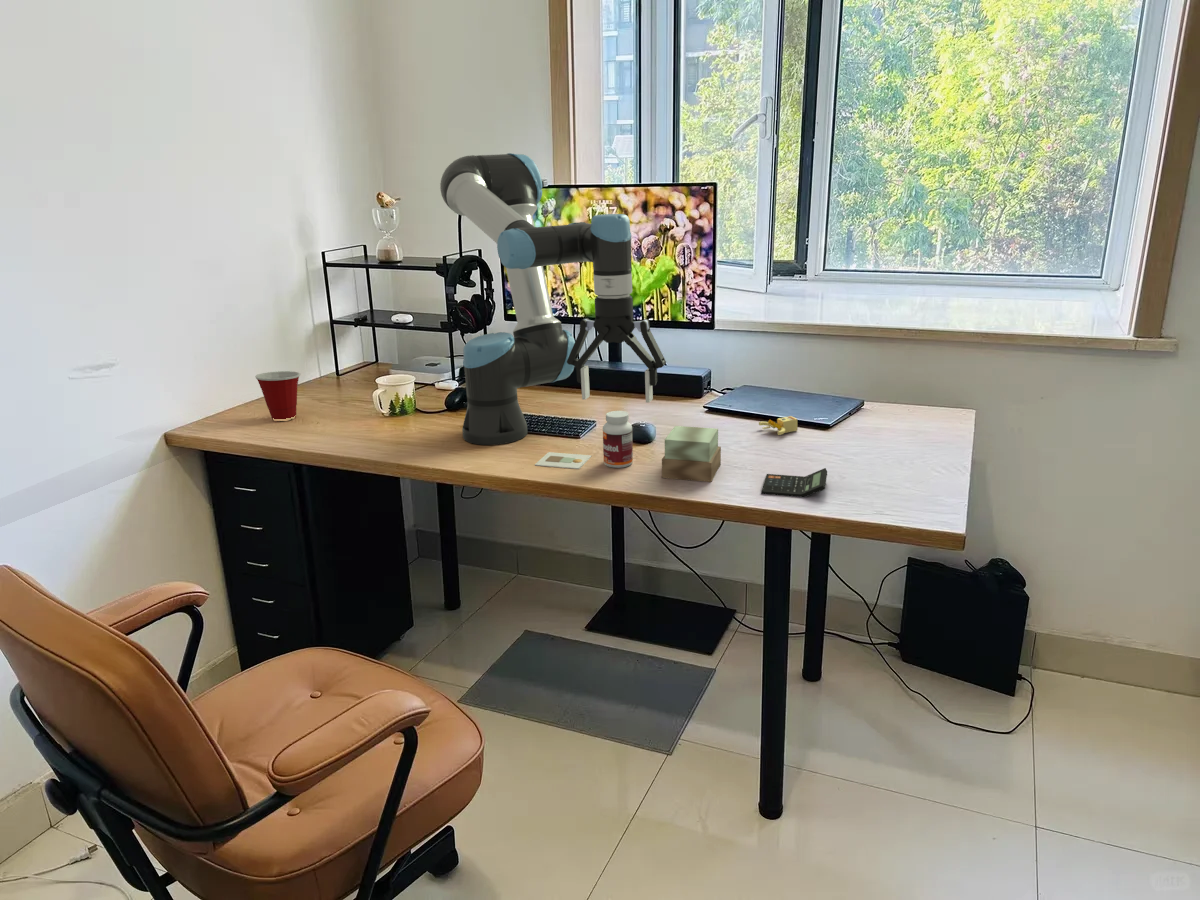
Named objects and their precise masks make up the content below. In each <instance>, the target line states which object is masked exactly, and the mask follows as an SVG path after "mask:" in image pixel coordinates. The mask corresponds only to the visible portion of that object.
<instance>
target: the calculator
mask: <svg viewBox="0 0 1200 900" xmlns="http://www.w3.org/2000/svg"><path fill="white" fill-rule="evenodd" d="M827 476H828V470H827V468H826V467H825V468H822V469H819V470H817V471H815V472H812V473H810V474H808V475H806V476H800V475H799V476H798V475H788V474H787V475H786V474H777V473H776V474H773V473H766V475H765V477H764V482H763V484H762V487H761V490H760V491H761V493H760V494H761V495H765V496H767V495H769V496H780V497H781V496H782V497H795V498H806V497H809V496H811V495H815V494H816V493H819V492H823V491H825V490H826V485H827Z"/></svg>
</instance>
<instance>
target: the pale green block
mask: <svg viewBox="0 0 1200 900" xmlns="http://www.w3.org/2000/svg"><path fill="white" fill-rule="evenodd" d="M721 448H722V446H720V445H719V428H715V427H699V426H697V427H696V426H683V425H675V426H673V428H672V430H671V431H670V432H669V433H668V435H667V436H666V437H665V438H664V455H663V457H662V458H661V478H662V479H672V480H684V481H692V482H693V481H694V482H707V483H712V481H713V479H714V478H715V476H716V474H717V473H718V470H719V468H720V467H721V465H722V464H721V463H722V462H721V461H722V458H721V457H722V456H721V455H722V452H721V451H722V449H721Z"/></svg>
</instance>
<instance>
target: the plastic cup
mask: <svg viewBox="0 0 1200 900" xmlns="http://www.w3.org/2000/svg"><path fill="white" fill-rule="evenodd" d="M300 376H301V373H300V372H299V371H292V370H289V371H288V370H287V371H286V370H283V371H279V370H278V371H268V372H261V373H259V374H256V375H255V379H256V380H257V382H258V385H259V387H260V389H261V392H262V395H263V398H264V400H265V401H264V402H265V403H266V407H267V409H268V410H269V414H270V417H271V419H272V418H274V419H286V418H291V417H294V416H295V415H296V416H297V405H298V385H299V379H300Z"/></svg>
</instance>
